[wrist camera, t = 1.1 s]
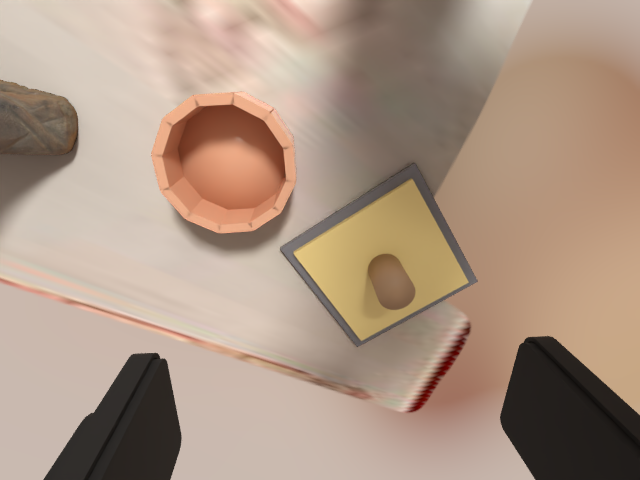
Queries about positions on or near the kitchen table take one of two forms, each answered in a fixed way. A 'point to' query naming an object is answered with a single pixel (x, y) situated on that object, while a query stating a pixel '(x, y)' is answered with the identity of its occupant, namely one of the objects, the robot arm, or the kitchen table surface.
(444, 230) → the mat
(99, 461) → the robot arm
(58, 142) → the worn brown figurine
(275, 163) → the bowl
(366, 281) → the sheet
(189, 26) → the kitchen table surface
